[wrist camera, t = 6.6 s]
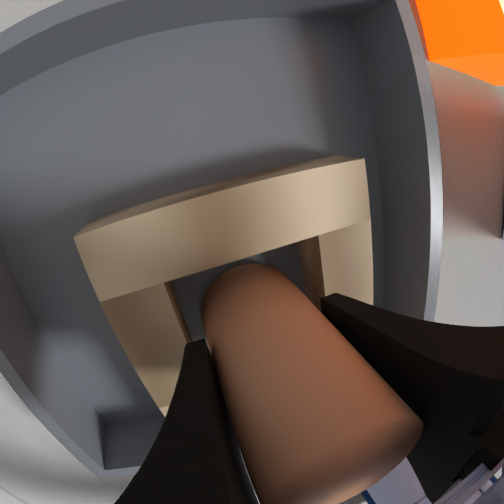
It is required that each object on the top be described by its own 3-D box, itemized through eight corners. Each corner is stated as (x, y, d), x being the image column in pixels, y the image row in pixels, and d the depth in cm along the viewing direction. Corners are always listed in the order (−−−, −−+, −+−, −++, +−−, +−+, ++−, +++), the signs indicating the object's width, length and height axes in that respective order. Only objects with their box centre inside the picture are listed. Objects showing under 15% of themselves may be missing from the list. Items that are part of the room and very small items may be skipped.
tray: (349, 12, 10) (402, -15, 7) (384, 330, 17) (424, 365, 13) (-33, 107, 7) (-87, 102, 3) (103, 423, 14) (99, 478, 10)
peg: (292, 253, 12) (444, 386, 5) (297, 334, 13) (399, 472, 6) (191, 276, 11) (251, 476, 4) (211, 357, 12) (269, 528, 5)
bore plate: (335, 155, 12) (364, 158, 10) (351, 344, 15) (370, 365, 14) (87, 222, 10) (73, 237, 8) (174, 407, 14) (178, 436, 12)
